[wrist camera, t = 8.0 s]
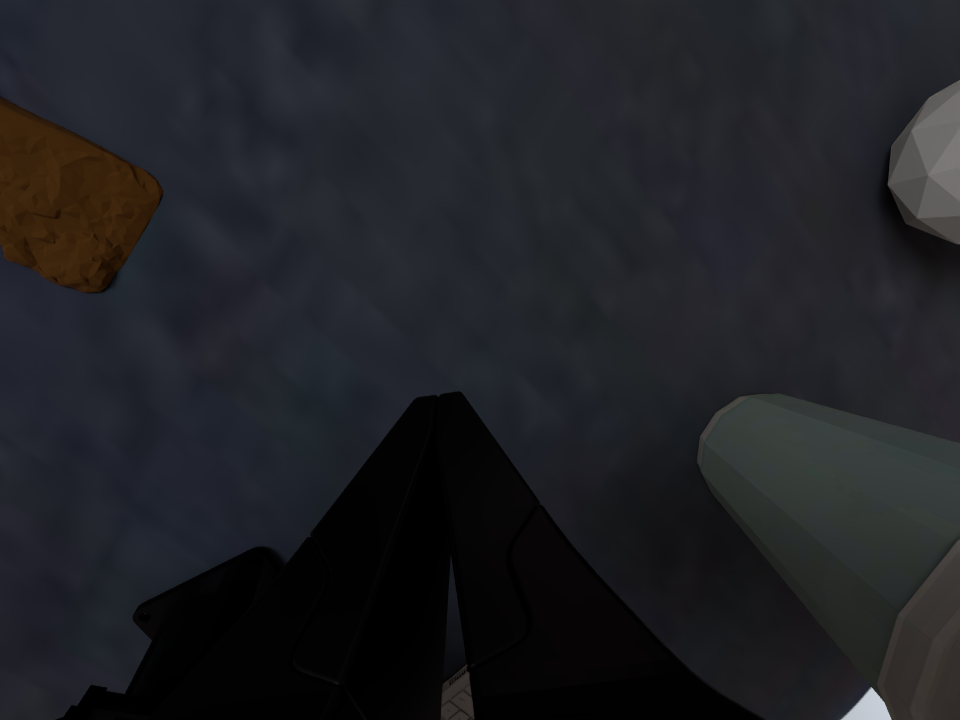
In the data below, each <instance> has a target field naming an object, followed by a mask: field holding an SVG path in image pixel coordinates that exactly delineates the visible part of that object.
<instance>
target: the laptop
mask: <svg viewBox="0 0 960 720" xmlns="http://www.w3.org/2000/svg"><path fill="white" fill-rule="evenodd" d="M467 668H468V667H467V665H466V666H465V667H463V668H462V669H461V670H460V671H458V672H457V673H456V674H455V675H453V676H452V677H451V678H450V679H449V680H447V681H446V682H445V683H444V684H443V689H442V706H441V720H474V711H473V702H472V695H471V687H470V680H469V672H467V670H466V669H467ZM464 671H466V674H465V673H464ZM462 673H463V674H464V675H463V676H462ZM460 675H461V677H460ZM457 677H459V679H457ZM455 679H456V681H455ZM453 681H454V683H453ZM450 684H451V685H450Z"/></svg>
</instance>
